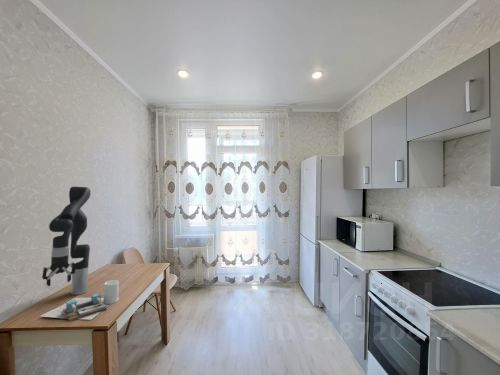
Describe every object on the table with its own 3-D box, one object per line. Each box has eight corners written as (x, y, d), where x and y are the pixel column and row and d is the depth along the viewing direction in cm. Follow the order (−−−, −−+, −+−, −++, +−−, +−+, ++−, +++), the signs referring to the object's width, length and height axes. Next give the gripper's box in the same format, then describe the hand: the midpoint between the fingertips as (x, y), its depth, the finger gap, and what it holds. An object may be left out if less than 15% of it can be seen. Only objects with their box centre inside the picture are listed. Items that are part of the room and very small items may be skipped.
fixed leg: (91, 302, 145) (91, 294, 145) (98, 300, 148) (98, 292, 148) (96, 308, 139) (96, 299, 139) (103, 305, 142) (104, 297, 142)
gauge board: (62, 311, 137) (63, 306, 137) (98, 301, 150) (98, 296, 151) (69, 321, 126) (69, 315, 126) (106, 309, 140) (106, 304, 140)
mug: (109, 296, 158) (109, 278, 159) (122, 295, 159) (123, 278, 160) (100, 304, 147) (101, 285, 147) (115, 303, 148) (116, 284, 148)
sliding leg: (66, 310, 136) (66, 301, 136) (74, 307, 139) (74, 299, 139) (70, 316, 129) (70, 307, 129) (78, 313, 132) (79, 304, 132)
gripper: (73, 251, 139) (72, 278, 139) (42, 255, 129) (40, 285, 128) (77, 253, 135) (76, 282, 134) (44, 258, 124) (43, 289, 123)
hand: (58, 283), depth 131 cm, fingers open, 8 cm apart
